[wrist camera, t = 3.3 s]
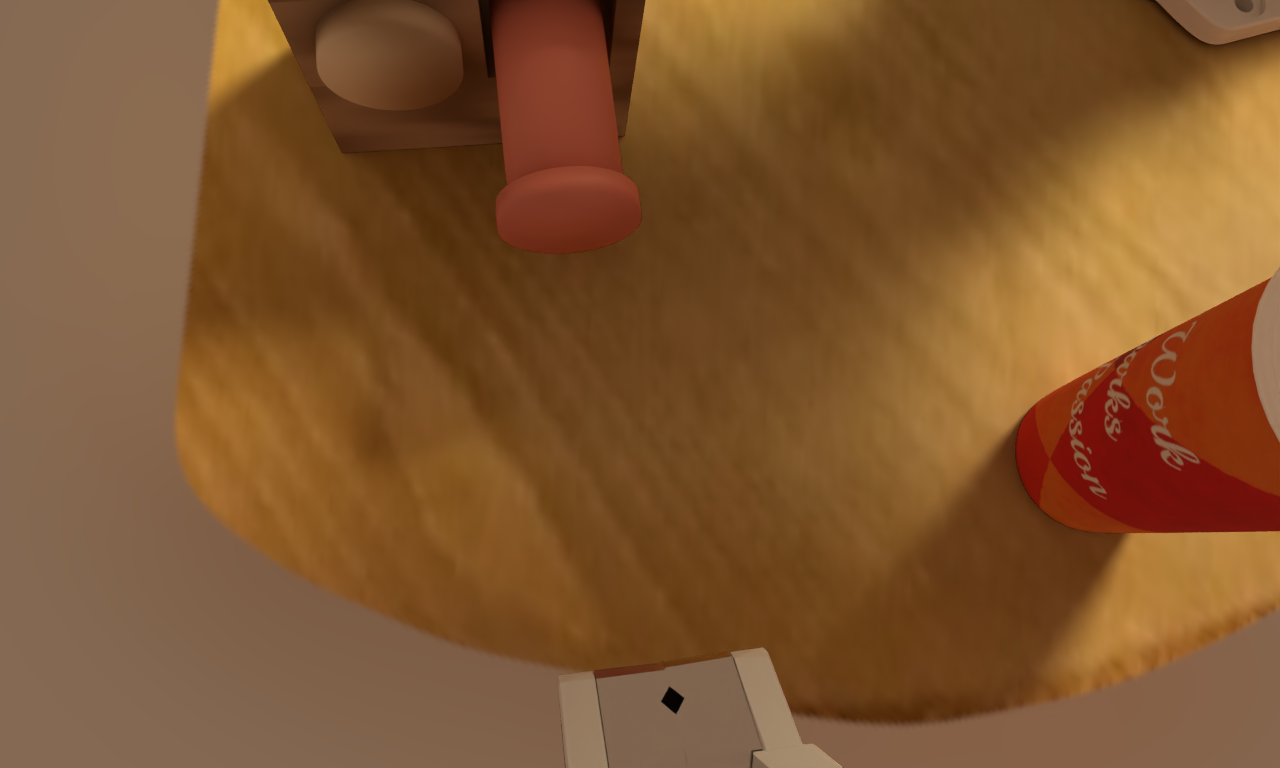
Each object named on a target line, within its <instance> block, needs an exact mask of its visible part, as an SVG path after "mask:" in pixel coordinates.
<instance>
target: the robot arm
mask: <svg viewBox="0 0 1280 768" xmlns="http://www.w3.org/2000/svg"><path fill="white" fill-rule="evenodd" d="M1155 1H1157V2H1158V3H1159V4H1160V5H1161V6H1162V7H1163V8H1164V9H1165V10H1166V11H1167V12H1168V13H1169V14H1170V15H1171V16H1172V17H1173V18H1174V19H1175V20H1176V21H1177V22H1178V23H1179V24H1180V25H1181V26H1183V27H1184V28H1185V29H1186V30H1187V31H1188V32H1190V33H1191V34H1192V35H1193V36H1195V37H1196V38H1198V39H1199V40H1201V41H1203V42H1206V43H1209V44H1216V45H1219V44H1225V43H1229V42H1233V41H1237V40H1241V39H1244V38H1248V37H1252V36H1256V35H1260V34H1264V33H1268V32H1271V31H1275V30H1279V29H1280V0H1155ZM558 693H559V705H560V716H561V727H562V738H563V750H564V760H565V768H843V767H842V766H841V765H839V764H838V763H837V762H836V761H835V760H833V759H832V758H831V757H830V756H828V755H827V754H826V753H825V752H823V751H822V750H821V749H820V748H819V747H817V746H816V745H815V744H813V743H811V744H803V743H802V740H801V738H800V735H799V733H798V730H797V727H796V724H795V722H794V719H793V717H792V714H791V711H790V709H789V706H788V703H787V701H786V698H785V695H784V693H783V690H782V688H781V685H780V682H779V680H778V677H777V674H776V672H775V669H774V666H773V664H772V661H771V659H770V656H769V653H768V652H767V651H766V650H765V649H764V648H763V647H762V648H755V649H748V650H740V651H733V652H729V653H728V652H721V653H715V654H708V655H701V656H695V657H688V658H682V659H675V660H669V661H662V662H661V663H656V664H647V665H638V666H629V667H620V668H611V669H602V670H594V673H593V671H587V672H579V673H571V674H563V675H558Z"/></svg>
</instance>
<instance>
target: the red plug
mask: <svg viewBox="0 0 1280 768" xmlns="http://www.w3.org/2000/svg"><path fill="white" fill-rule="evenodd" d="M489 9H490V19H491V29H492V40H493V50H494V60H495V71H496V81H497V91H498V102H499V112H500V122H501V133H502V143H503V153H504V164H505V174H506V184H507V186H506V187H505V188H503V189H502V191H501V192H500V193H499V194H498V196H497V198H496V201H495V209H496V219H497V230H498V234H499V236H500V237H501V238H502V239H503V240H504V241H505V242H506V243H508V244H510V245H512V246H514V247H516V248H519V249H522V250H526V251H531V252H537V253H549V254H563V253H575V252H583V251H588V250H593V249H597V248H601V247H604V246H607V245H610V244H613V243H615V242H618V241H620V240H622V239H624V238H625V237H627V236H628V235H630V234H631V233H632V232H634V231H635V230H636V229H637V228H638V226H639V225H640V222H641V220H642V214H641V206H640V199H639V192H638V188H637V186H636V184H635V183H634V182H633V181H632V180H631V179H630V178H629V177H627V176H625V175H623V170H622V162H621V154H620V147H619V139H618V132H617V124H616V116H615V109H614V101H613V93H612V86H611V78H610V71H609V63H608V55H607V48H606V40H605V32H604V25H603V17H602V10H601V2H600V0H489Z"/></svg>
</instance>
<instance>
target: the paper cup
mask: <svg viewBox="0 0 1280 768" xmlns="http://www.w3.org/2000/svg"><path fill="white" fill-rule="evenodd" d="M1015 454H1016V463H1017V468H1018V472H1019V475H1020V478H1021V480H1022V483H1023V485H1024V487H1025V489H1026V490H1027V492H1028V494H1029V495H1030V497H1031V498H1032V499H1033V501H1034V502H1035V503H1036V504H1037V505H1038V506H1039V508H1040V509H1042V510H1043V511H1044V512H1045V513H1046V514H1047V515H1049V516H1050V517H1051V518H1053V519H1054V520H1056V521H1058V522H1059V523H1061V524H1063V525H1066V526H1068V527H1071V528H1074V529H1078V530H1083V531H1089V532H1103V533H1184V532H1256V531H1280V267H1279V268H1278V270H1277V271H1276V273H1275V274H1274V275H1273V277H1272V278H1270V279H1268V280H1266V281H1264V282H1262V283H1260V284H1258V285H1256V286H1254V287H1252V288H1250V289H1249V290H1247V291H1245V292H1243V293H1241V294H1239V295H1237V296H1235V297H1233V298H1231V299H1229V300H1227V301H1225V302H1223V303H1221V304H1219V305H1217V306H1216V307H1214V308H1212V309H1210V310H1208V311H1206V312H1204V313H1202V314H1200V315H1198V316H1196V317H1194V318H1192V319H1190V320H1188V321H1186V322H1184V323H1182V324H1181V325H1179V326H1177V327H1175V328H1173V329H1171V330H1169V331H1167V332H1165V333H1163V334H1161V335H1159V336H1157V337H1155V338H1153V339H1151V340H1150V341H1148V342H1146V343H1144V344H1142V345H1140V346H1138V347H1136V348H1134V349H1132V350H1130V351H1128V352H1126V353H1124V354H1123V355H1121V356H1119V357H1117V358H1115V359H1113V360H1111V361H1109V362H1107V363H1105V364H1103V365H1101V366H1100V367H1098V368H1096V369H1094V370H1092V371H1090V372H1088V373H1086V374H1084V375H1083V376H1081V377H1079V378H1077V379H1075V380H1073V381H1071V382H1070V383H1068V384H1066V385H1064V386H1062V387H1061V388H1059V389H1057V390H1055V391H1053V392H1052V393H1050V394H1049V395H1047V396H1045V397H1044V398H1042V399H1041V400H1040V401H1039V402H1037V403H1036V404H1035V405H1034V406H1033V407H1032V408H1031V409H1030V410H1029V411H1028V413H1027V414H1026V416H1025V417H1024V419H1023V421H1022V423H1021V425H1020V427H1019V430H1018V434H1017V438H1016V447H1015Z"/></svg>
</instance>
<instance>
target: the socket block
mask: <svg viewBox="0 0 1280 768" xmlns="http://www.w3.org/2000/svg"><path fill="white" fill-rule="evenodd" d="M268 2H269V4H270V6H271V8H272V10H273V12H274V14H275V16H276V18H277V20H278V22H279V24H280V26H281V28H282V30H283V32H284V35H285V37H286V39H287V41H288V43H289V45H290V47H291V49H292V51H293V53H294V55H295V57H296V59H297V61H298V63H299V65H300V67H301V69H302V72H303V74H304V76H305V78H306V80H307V82H308V84H309V86H310V88H311V90H312V92H313V94H314V96H315V98H316V100H317V102H318V104H319V107H320V109H321V111H322V113H323V115H324V117H325V119H326V121H327V123H328V125H329V127H330V129H331V131H332V133H333V135H334V137H335V139H336V142H337V144H338V146H339V148H340V150H341V152H342V153H352V152H368V151H384V150H401V149H417V148H433V147H449V146H465V145H481V144H497V143H502V133H501V122H500V112H499V102H498V91H497V81H496V71H495V60H494V50H493V40H492V29H491V19H490V9H489V0H268ZM600 2H601V10H602V17H603V25H604V32H605V40H606V48H607V55H608V63H609V71H610V78H611V86H612V93H613V101H614V109H615V116H616V124H617V132H618V136H625V130H626V124H627V117H628V110H629V104H630V97H631V91H632V84H633V78H634V71H635V65H636V58H637V52H638V45H639V39H640V32H641V26H642V19H643V13H644V6H645V0H600Z"/></svg>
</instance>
